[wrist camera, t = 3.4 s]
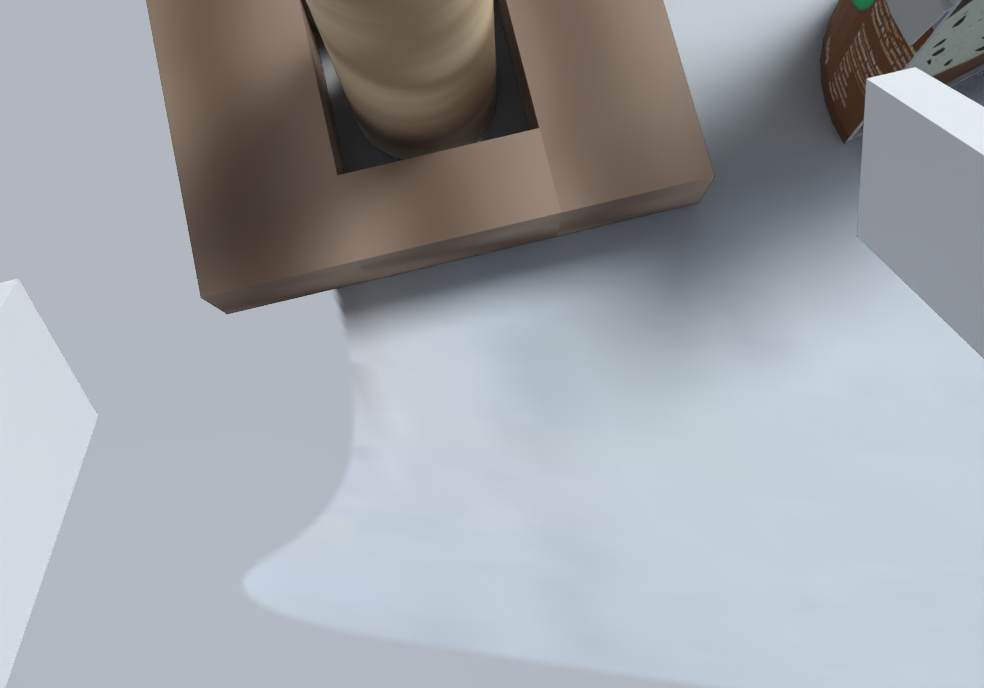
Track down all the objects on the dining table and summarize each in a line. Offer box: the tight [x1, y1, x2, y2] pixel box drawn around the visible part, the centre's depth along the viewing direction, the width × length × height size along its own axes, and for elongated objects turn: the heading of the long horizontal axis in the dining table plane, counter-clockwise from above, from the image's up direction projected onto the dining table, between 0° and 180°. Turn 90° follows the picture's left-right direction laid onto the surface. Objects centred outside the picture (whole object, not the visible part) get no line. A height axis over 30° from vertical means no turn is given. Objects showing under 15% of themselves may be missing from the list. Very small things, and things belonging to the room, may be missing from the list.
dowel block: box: [146, 0, 715, 314], centre depth 29 cm, size 16×12×2 cm
